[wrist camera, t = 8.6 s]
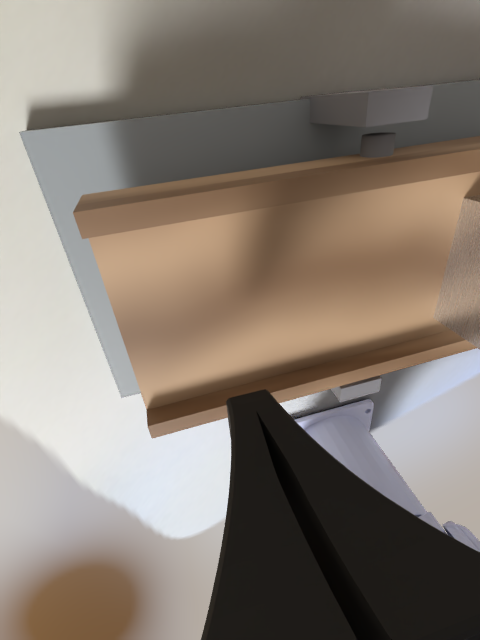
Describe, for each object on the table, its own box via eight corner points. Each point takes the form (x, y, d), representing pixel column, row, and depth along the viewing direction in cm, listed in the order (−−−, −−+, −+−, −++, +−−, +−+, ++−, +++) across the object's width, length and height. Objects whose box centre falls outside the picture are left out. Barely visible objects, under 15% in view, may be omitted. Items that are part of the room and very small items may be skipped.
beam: (505, 316, 22) (553, 342, 19) (152, 409, 18) (156, 457, 15) (587, 103, 16) (674, 102, 13) (75, 173, 12) (60, 190, 9)
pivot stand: (478, 302, 26) (551, 344, 21) (122, 387, 21) (119, 462, 17) (554, 68, 18) (695, 55, 14) (24, 127, 14) (-29, 137, 9)
